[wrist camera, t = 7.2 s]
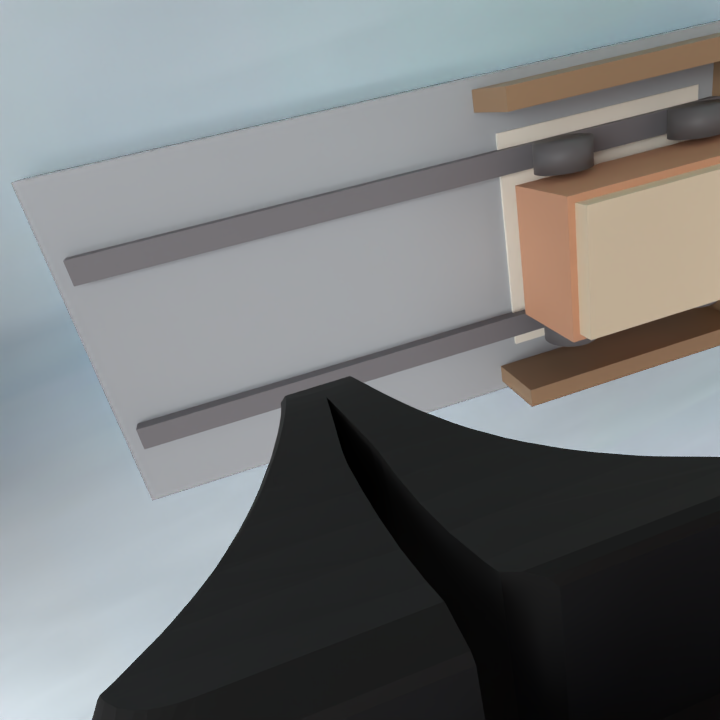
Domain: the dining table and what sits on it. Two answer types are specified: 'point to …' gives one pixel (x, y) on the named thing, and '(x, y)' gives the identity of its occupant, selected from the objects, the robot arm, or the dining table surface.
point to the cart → (622, 230)
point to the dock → (348, 254)
